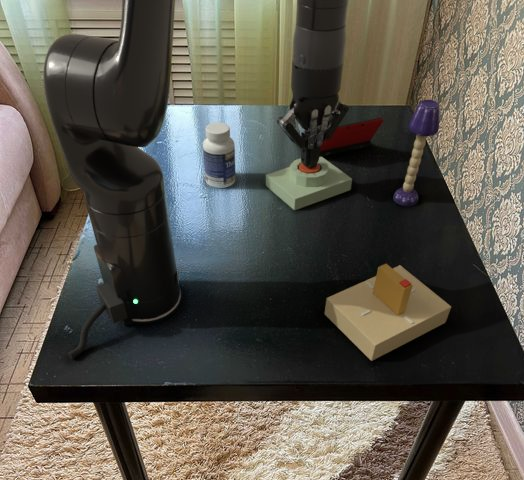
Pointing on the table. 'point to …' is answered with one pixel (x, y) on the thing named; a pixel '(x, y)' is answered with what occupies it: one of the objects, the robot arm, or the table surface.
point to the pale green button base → (307, 184)
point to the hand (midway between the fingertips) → (309, 165)
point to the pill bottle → (219, 156)
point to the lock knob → (392, 289)
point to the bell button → (309, 171)
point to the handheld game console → (350, 137)
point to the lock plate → (385, 316)
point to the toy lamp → (418, 147)
